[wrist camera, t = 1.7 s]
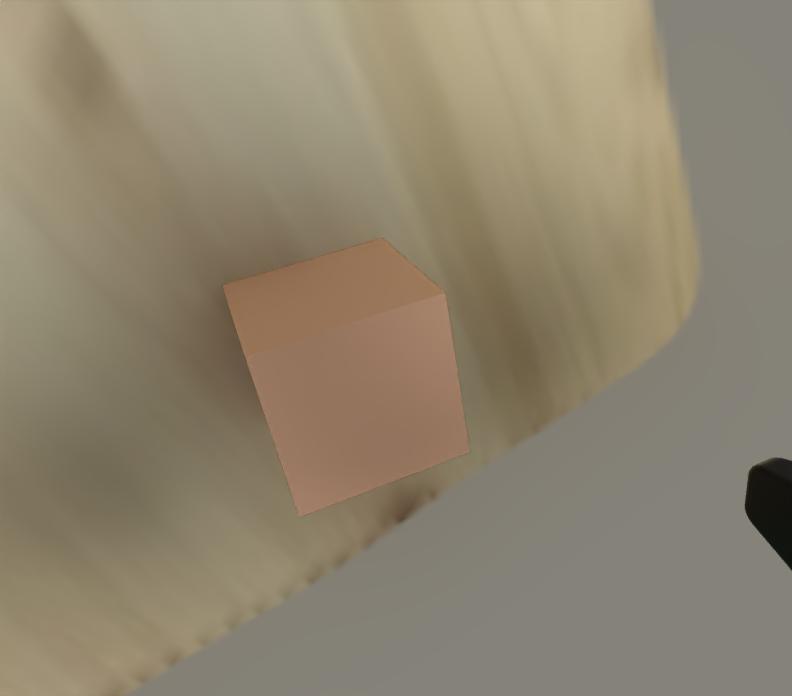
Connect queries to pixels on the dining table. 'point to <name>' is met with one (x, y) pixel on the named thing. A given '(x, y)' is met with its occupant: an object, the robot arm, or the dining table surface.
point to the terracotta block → (351, 370)
